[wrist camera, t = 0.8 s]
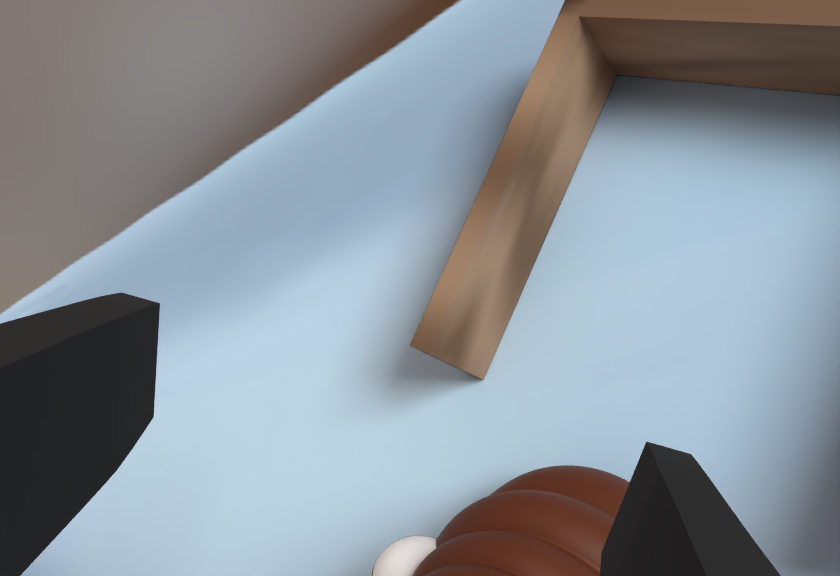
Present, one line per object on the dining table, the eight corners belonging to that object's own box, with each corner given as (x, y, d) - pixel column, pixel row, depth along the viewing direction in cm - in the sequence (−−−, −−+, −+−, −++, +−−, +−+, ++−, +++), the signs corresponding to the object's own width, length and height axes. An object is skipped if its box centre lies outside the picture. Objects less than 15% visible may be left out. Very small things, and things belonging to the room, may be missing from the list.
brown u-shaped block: (950, 585, 17) (948, 581, 15) (465, 372, 27) (409, 345, 24) (1132, 92, 18) (1160, 4, 16) (606, 53, 28) (567, -6, 25)
